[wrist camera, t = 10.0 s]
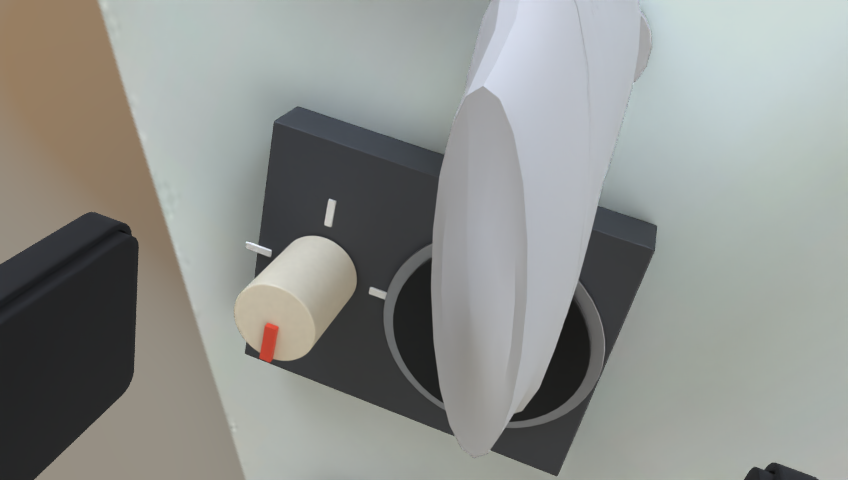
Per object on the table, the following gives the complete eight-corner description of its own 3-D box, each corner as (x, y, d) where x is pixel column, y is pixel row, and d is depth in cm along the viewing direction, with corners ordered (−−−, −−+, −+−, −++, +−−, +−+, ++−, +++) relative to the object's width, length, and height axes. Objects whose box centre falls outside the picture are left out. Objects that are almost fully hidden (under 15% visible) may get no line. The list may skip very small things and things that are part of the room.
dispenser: (637, 167, 34) (566, 556, 15) (544, 158, 35) (372, 509, 16) (668, -95, 29) (622, 0, 11) (560, -96, 30) (343, -11, 12)
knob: (290, 223, 38) (235, 274, 33) (364, 252, 37) (319, 308, 33) (278, 288, 40) (225, 345, 35) (348, 317, 39) (304, 378, 35)
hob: (657, 225, 35) (655, 251, 33) (564, 445, 42) (556, 479, 40) (286, 102, 38) (260, 117, 36) (256, 326, 45) (233, 351, 43)
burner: (639, 279, 34) (638, 286, 33) (564, 454, 39) (563, 462, 38) (409, 200, 35) (405, 205, 35) (367, 378, 41) (363, 384, 40)
